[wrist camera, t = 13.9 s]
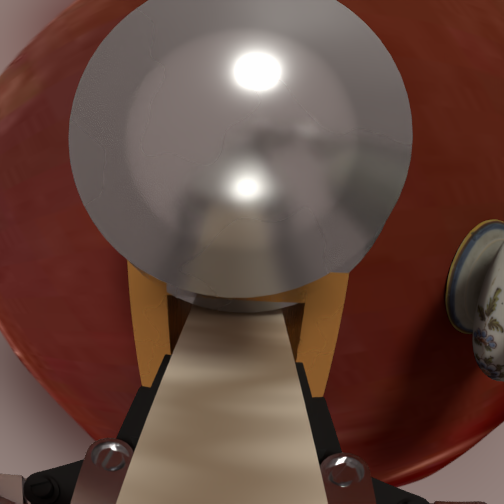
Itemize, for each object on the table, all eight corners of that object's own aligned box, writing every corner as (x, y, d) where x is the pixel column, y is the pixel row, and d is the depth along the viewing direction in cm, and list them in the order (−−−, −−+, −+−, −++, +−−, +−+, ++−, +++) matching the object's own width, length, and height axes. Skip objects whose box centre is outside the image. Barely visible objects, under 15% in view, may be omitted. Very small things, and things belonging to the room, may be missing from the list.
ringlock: (343, 87, 15) (485, -28, 2) (299, 426, 21) (324, 563, 8) (159, 76, 14) (33, -50, 2) (166, 418, 20) (129, 552, 8)
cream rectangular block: (277, 294, 13) (347, 596, 1) (268, 374, 14) (291, 609, 2) (199, 289, 13) (92, 579, 1) (200, 370, 14) (153, 601, 2)
